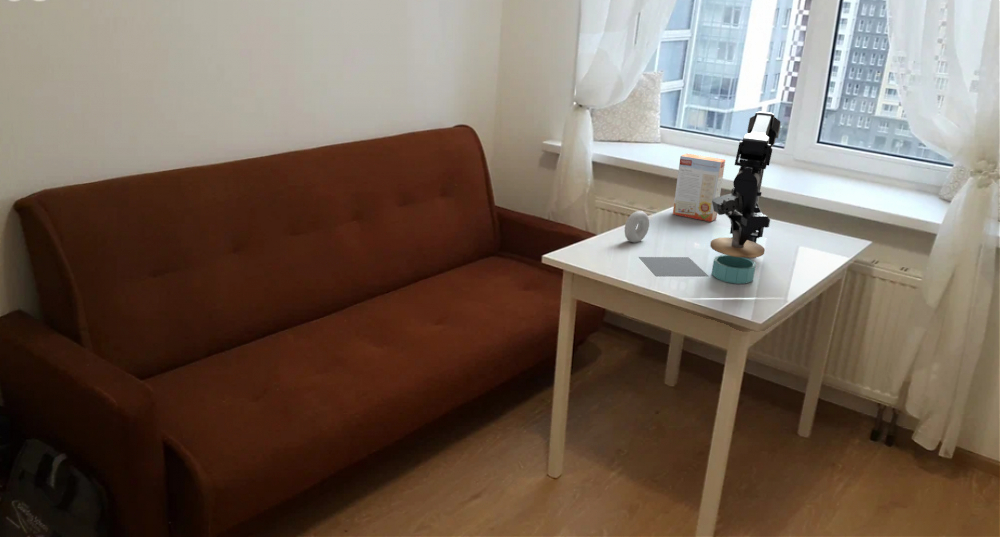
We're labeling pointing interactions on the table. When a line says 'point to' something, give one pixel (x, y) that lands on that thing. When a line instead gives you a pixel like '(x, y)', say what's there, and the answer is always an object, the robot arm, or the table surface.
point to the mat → (672, 266)
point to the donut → (631, 224)
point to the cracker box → (698, 186)
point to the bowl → (733, 269)
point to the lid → (737, 247)
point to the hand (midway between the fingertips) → (738, 242)
